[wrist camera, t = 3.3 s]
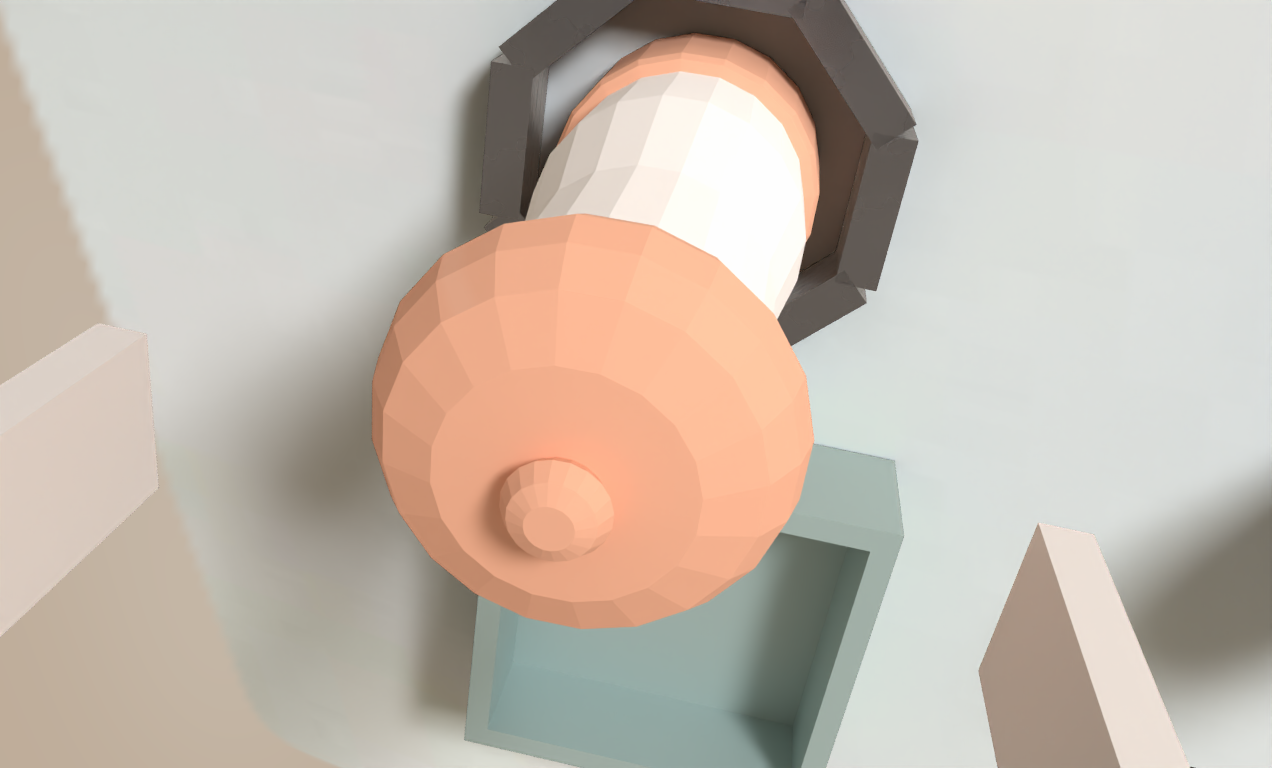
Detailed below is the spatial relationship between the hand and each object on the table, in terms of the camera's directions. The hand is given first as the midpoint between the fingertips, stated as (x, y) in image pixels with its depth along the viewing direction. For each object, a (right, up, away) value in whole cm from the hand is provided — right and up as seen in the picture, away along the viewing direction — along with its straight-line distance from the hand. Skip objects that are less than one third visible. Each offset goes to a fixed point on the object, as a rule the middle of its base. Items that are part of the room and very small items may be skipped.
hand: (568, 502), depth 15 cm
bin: (+2, -5, +23) cm, 23 cm away
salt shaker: (+3, +9, +16) cm, 18 cm away
